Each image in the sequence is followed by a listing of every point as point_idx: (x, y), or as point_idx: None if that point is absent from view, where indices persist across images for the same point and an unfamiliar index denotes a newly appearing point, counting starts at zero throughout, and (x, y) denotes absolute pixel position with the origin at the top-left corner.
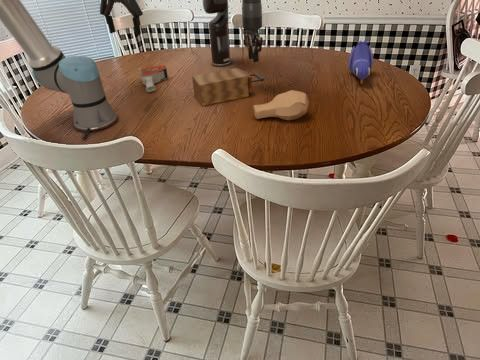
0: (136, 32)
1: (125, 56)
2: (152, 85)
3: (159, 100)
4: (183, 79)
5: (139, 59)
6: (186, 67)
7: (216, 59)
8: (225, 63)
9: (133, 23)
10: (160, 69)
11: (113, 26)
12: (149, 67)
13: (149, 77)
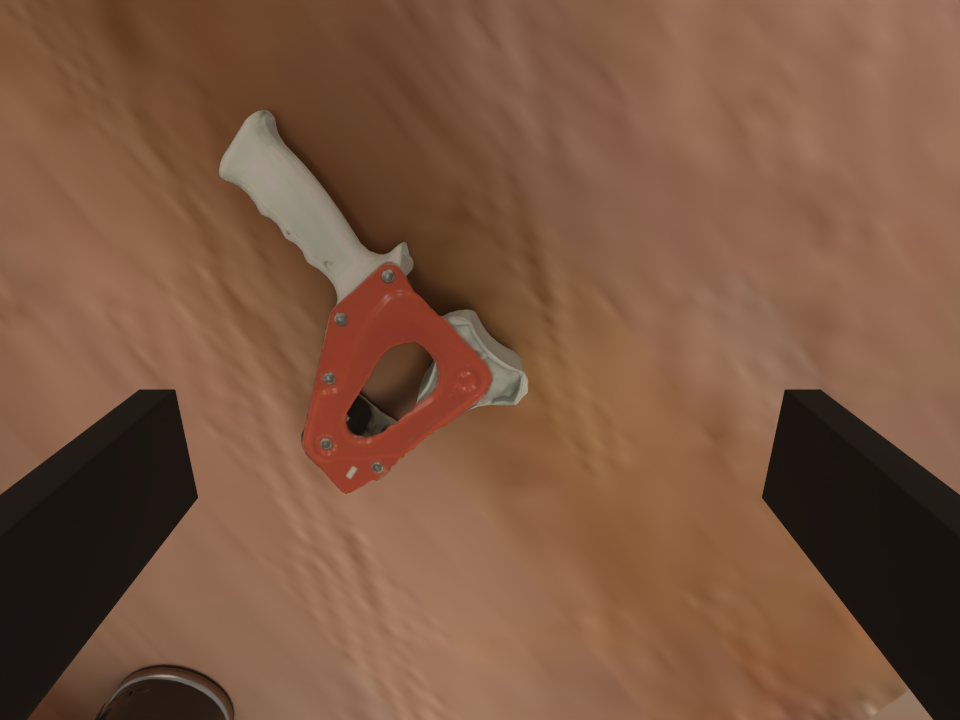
0: (116, 412)
1: None
2: (224, 161)
3: (78, 18)
4: (216, 435)
5: (772, 656)
6: (348, 612)
7: (142, 707)
8: (113, 697)
9: (13, 525)
10: (322, 413)
11: (823, 544)
12: (437, 419)
13: (349, 286)
